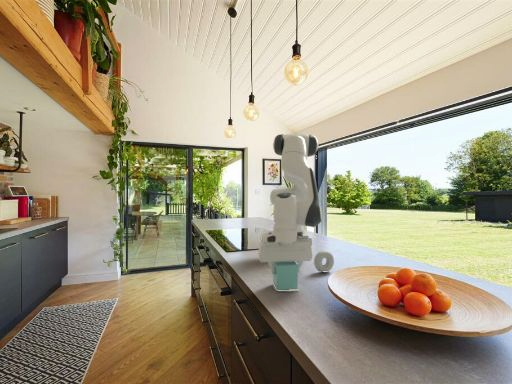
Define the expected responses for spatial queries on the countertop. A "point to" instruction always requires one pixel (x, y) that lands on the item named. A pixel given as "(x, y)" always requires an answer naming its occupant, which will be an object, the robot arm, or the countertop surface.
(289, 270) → the teal cube
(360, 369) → the countertop surface
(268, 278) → the countertop surface
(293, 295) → the countertop surface
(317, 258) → the donut
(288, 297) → the countertop surface
